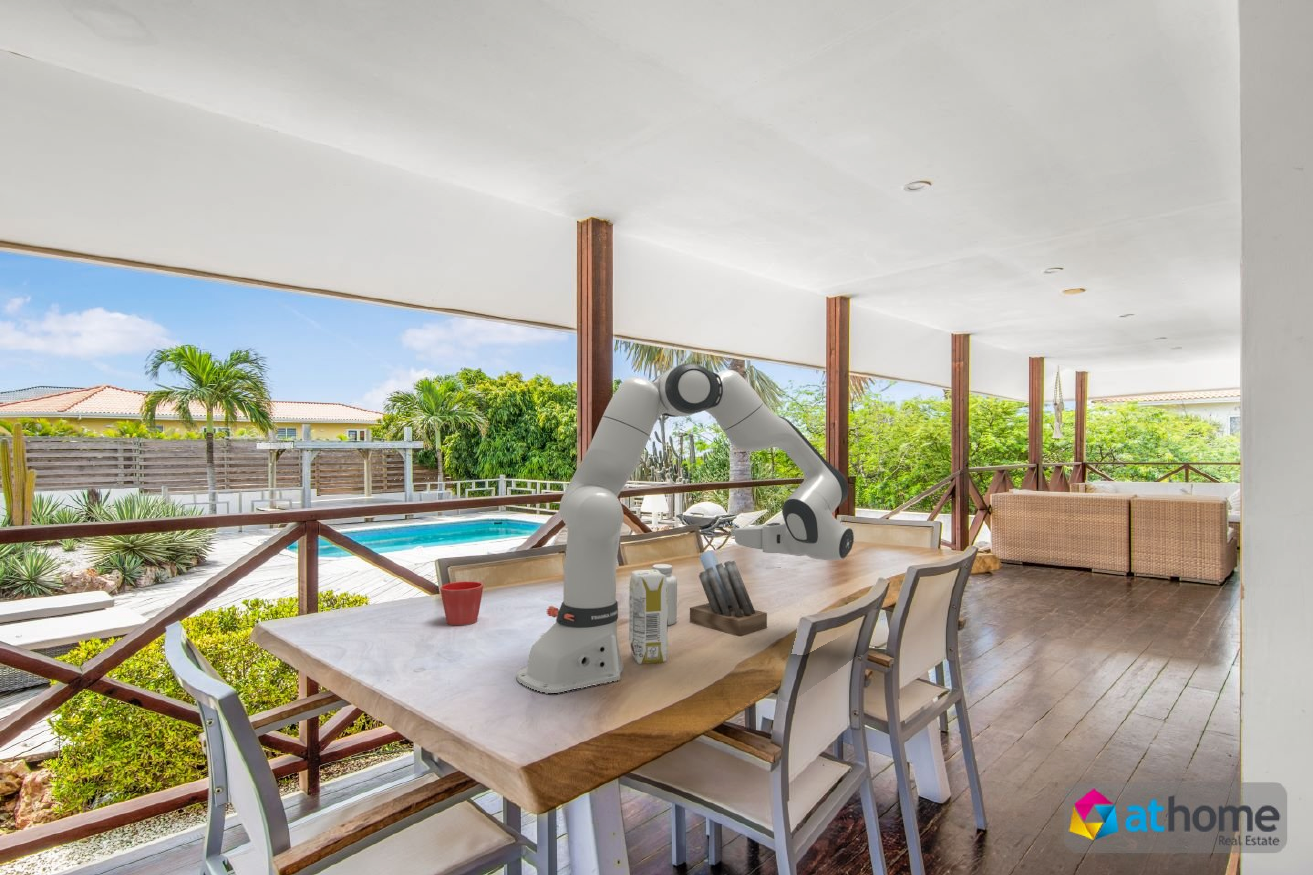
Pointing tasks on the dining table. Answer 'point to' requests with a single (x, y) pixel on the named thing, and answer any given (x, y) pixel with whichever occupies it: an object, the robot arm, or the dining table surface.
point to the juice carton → (648, 616)
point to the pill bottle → (669, 590)
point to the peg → (710, 561)
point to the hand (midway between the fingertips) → (744, 530)
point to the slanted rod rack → (726, 619)
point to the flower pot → (461, 602)
